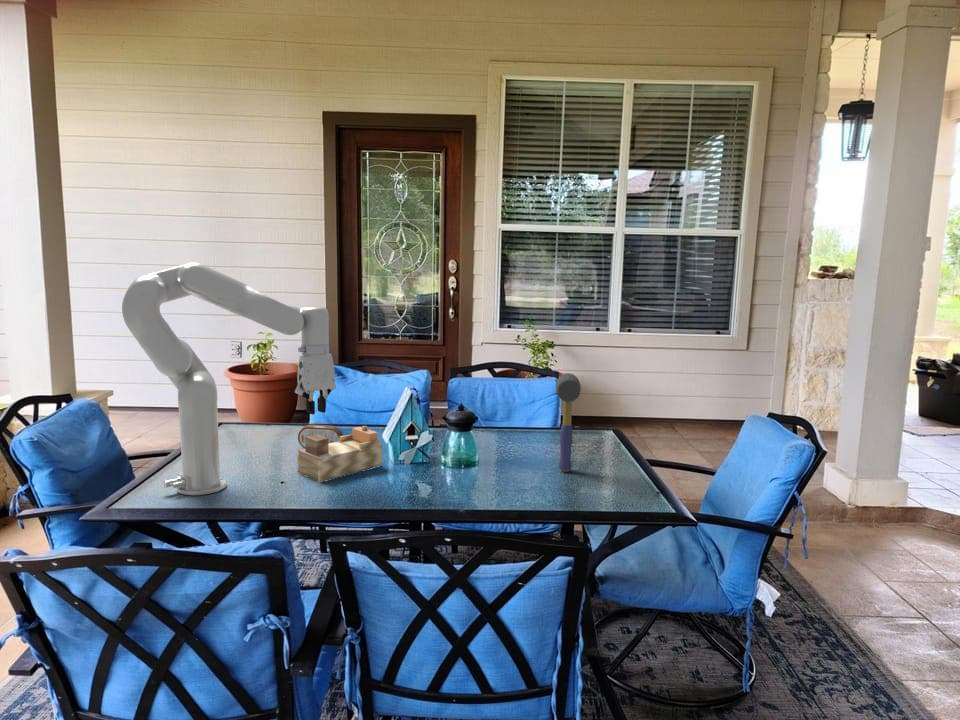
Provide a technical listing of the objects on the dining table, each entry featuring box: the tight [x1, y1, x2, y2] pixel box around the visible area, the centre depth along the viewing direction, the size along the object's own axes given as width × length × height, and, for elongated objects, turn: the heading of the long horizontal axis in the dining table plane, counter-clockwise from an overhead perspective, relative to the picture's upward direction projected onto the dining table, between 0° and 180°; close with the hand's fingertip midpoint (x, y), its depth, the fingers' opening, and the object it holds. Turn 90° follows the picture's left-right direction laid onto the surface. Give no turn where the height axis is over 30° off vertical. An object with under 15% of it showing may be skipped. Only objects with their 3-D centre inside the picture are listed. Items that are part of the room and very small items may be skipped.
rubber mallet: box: [555, 372, 582, 472], centre depth 200 cm, size 12×8×30 cm, turn 173°
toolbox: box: [296, 433, 383, 483], centre depth 198 cm, size 22×12×8 cm, turn 136°
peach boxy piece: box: [351, 425, 379, 443], centre depth 204 cm, size 3×9×5 cm, turn 46°
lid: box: [297, 435, 359, 462], centre depth 195 cm, size 14×12×6 cm
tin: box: [297, 424, 344, 449], centre depth 219 cm, size 15×3×8 cm, turn 84°
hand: (316, 412), depth 191 cm, fingers open, 2 cm apart
